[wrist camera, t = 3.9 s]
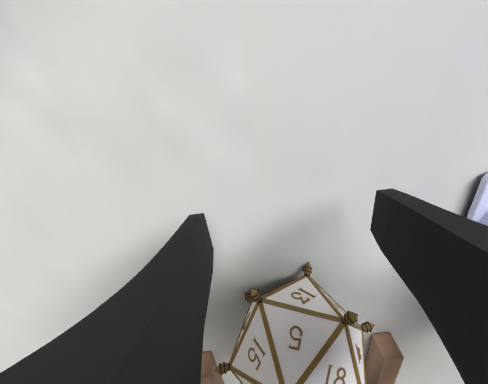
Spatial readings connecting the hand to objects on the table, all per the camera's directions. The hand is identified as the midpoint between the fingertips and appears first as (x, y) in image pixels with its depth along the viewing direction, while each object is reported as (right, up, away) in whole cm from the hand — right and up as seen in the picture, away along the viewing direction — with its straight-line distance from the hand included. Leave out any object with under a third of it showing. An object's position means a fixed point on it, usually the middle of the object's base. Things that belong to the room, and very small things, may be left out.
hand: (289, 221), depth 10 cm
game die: (+1, -6, +8) cm, 10 cm away
